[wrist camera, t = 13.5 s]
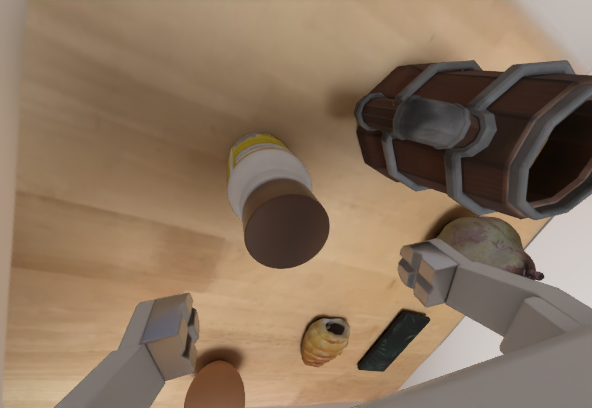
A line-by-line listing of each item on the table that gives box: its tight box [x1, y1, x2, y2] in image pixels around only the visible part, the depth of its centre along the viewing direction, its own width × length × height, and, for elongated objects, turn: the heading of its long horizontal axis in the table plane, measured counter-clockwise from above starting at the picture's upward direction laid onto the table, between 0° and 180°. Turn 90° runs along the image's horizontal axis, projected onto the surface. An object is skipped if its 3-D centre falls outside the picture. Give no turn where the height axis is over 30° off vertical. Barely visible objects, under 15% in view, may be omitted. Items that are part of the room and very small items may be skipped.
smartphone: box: [358, 312, 430, 372], centre depth 44 cm, size 7×1×15 cm
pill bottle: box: [227, 133, 313, 222], centre depth 19 cm, size 6×6×11 cm
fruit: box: [437, 217, 544, 280], centre depth 31 cm, size 10×9×12 cm
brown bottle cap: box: [242, 178, 329, 269], centre depth 14 cm, size 5×5×2 cm
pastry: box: [301, 318, 350, 367], centre depth 37 cm, size 9×7×4 cm
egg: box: [184, 361, 245, 408], centre depth 31 cm, size 8×8×11 cm
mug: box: [354, 60, 592, 220], centre depth 19 cm, size 16×12×15 cm
